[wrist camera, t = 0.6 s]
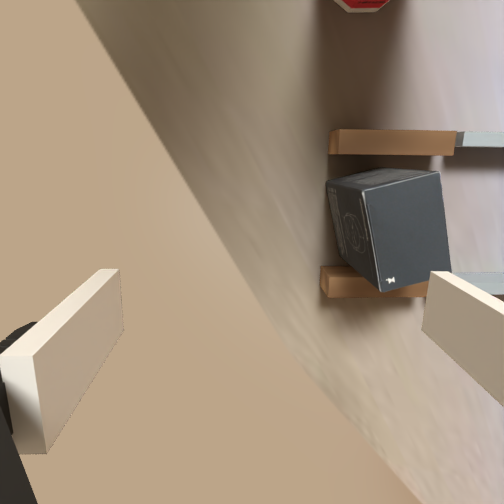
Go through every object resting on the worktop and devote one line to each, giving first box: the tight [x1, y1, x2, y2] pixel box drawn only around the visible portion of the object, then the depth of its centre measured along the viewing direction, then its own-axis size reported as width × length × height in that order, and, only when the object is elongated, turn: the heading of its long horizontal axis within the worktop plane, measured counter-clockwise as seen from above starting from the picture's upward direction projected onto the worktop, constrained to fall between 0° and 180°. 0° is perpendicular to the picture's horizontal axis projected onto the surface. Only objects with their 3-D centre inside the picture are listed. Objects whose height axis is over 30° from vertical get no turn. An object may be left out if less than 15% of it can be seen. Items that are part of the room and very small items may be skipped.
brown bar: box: [320, 129, 457, 298], centre depth 34 cm, size 15×10×4 cm, turn 179°
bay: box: [452, 132, 504, 295], centre depth 35 cm, size 15×11×3 cm
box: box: [326, 168, 452, 292], centre depth 31 cm, size 8×6×11 cm
